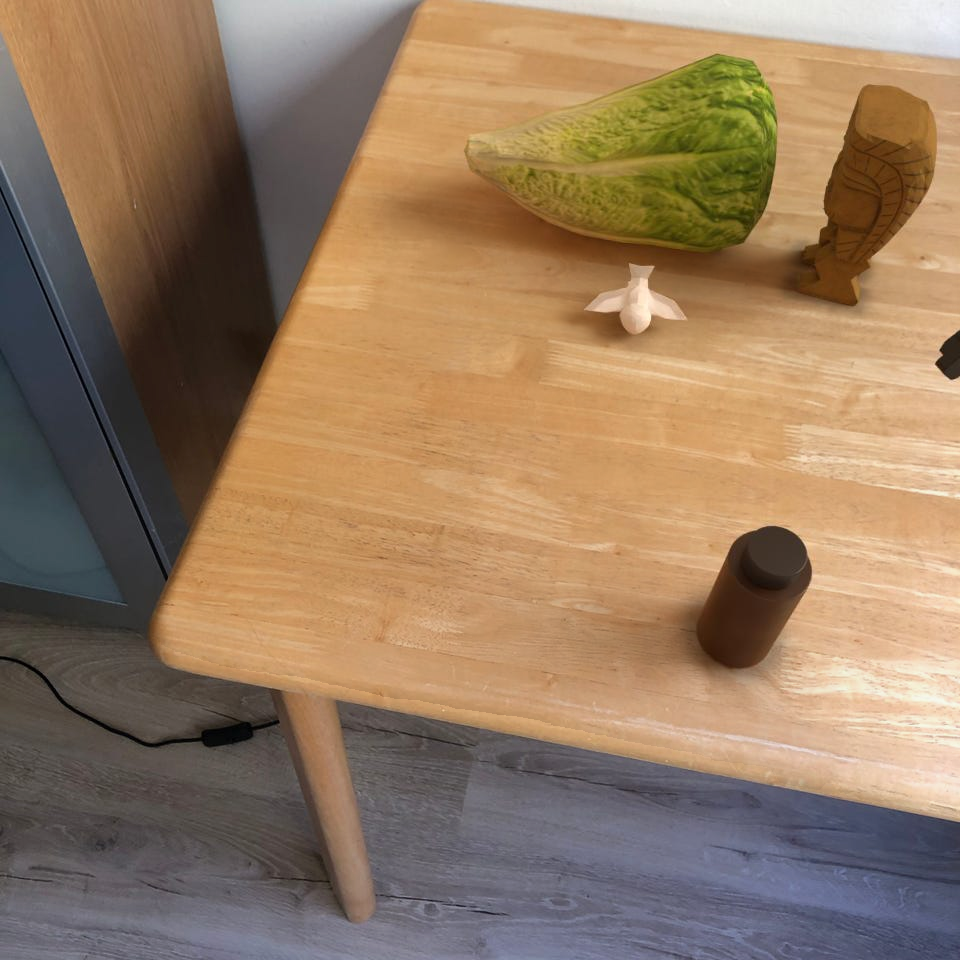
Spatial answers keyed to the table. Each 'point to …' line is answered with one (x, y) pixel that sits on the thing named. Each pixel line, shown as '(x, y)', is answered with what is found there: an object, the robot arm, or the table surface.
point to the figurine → (871, 188)
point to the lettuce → (646, 159)
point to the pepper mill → (754, 596)
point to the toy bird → (637, 302)
